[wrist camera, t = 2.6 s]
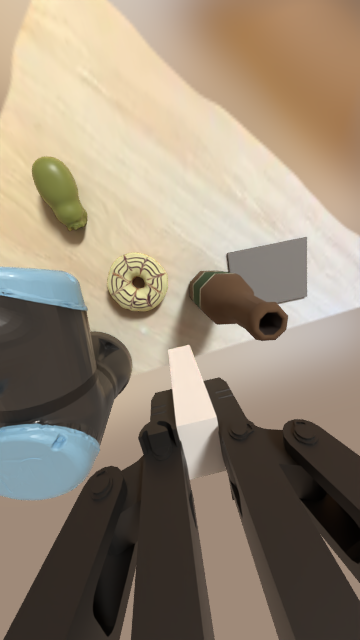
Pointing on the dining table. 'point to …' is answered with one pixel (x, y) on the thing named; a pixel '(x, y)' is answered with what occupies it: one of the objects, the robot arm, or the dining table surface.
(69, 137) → the dining table surface
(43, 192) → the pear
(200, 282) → the beer bottle
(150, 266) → the decorated donut
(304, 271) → the mat
